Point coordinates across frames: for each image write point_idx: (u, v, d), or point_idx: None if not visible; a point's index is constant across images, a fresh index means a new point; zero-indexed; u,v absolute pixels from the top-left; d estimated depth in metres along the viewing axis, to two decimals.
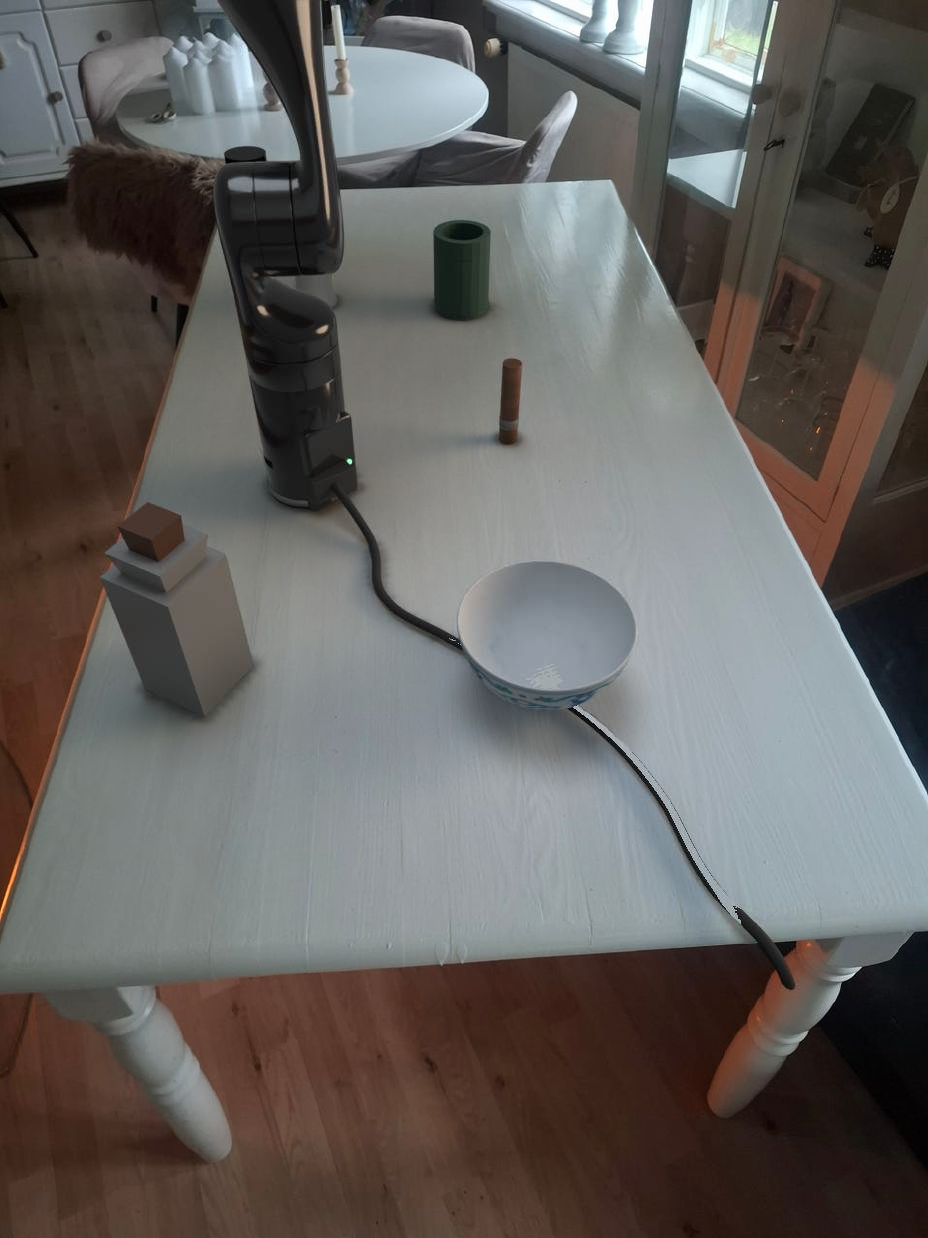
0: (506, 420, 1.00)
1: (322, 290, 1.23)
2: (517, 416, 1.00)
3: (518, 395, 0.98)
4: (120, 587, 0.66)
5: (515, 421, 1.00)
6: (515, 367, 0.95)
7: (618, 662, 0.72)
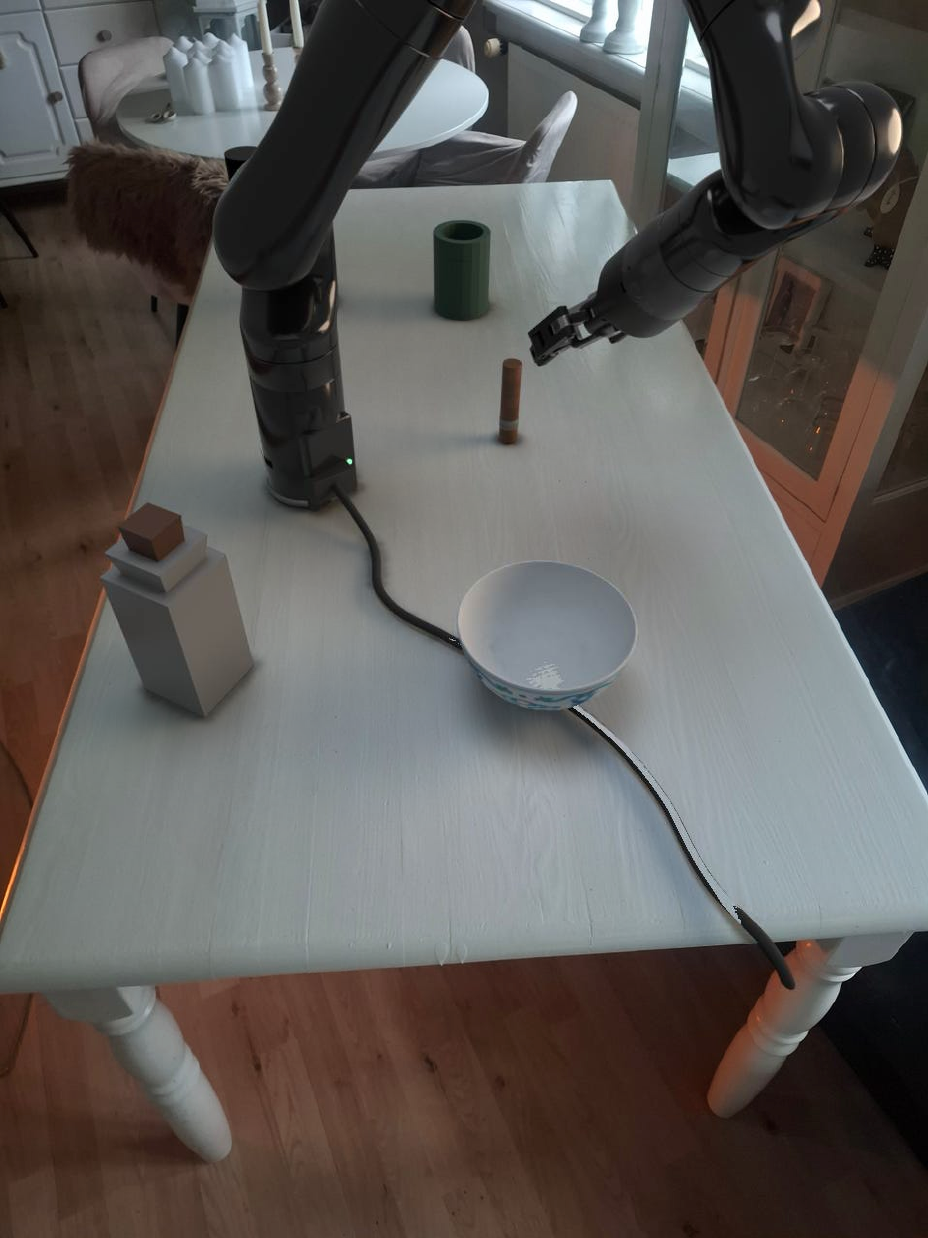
0: (506, 420, 1.00)
1: None
2: (517, 416, 1.00)
3: (518, 395, 0.98)
4: (120, 587, 0.66)
5: (515, 421, 1.00)
6: (515, 367, 0.95)
7: (618, 662, 0.72)
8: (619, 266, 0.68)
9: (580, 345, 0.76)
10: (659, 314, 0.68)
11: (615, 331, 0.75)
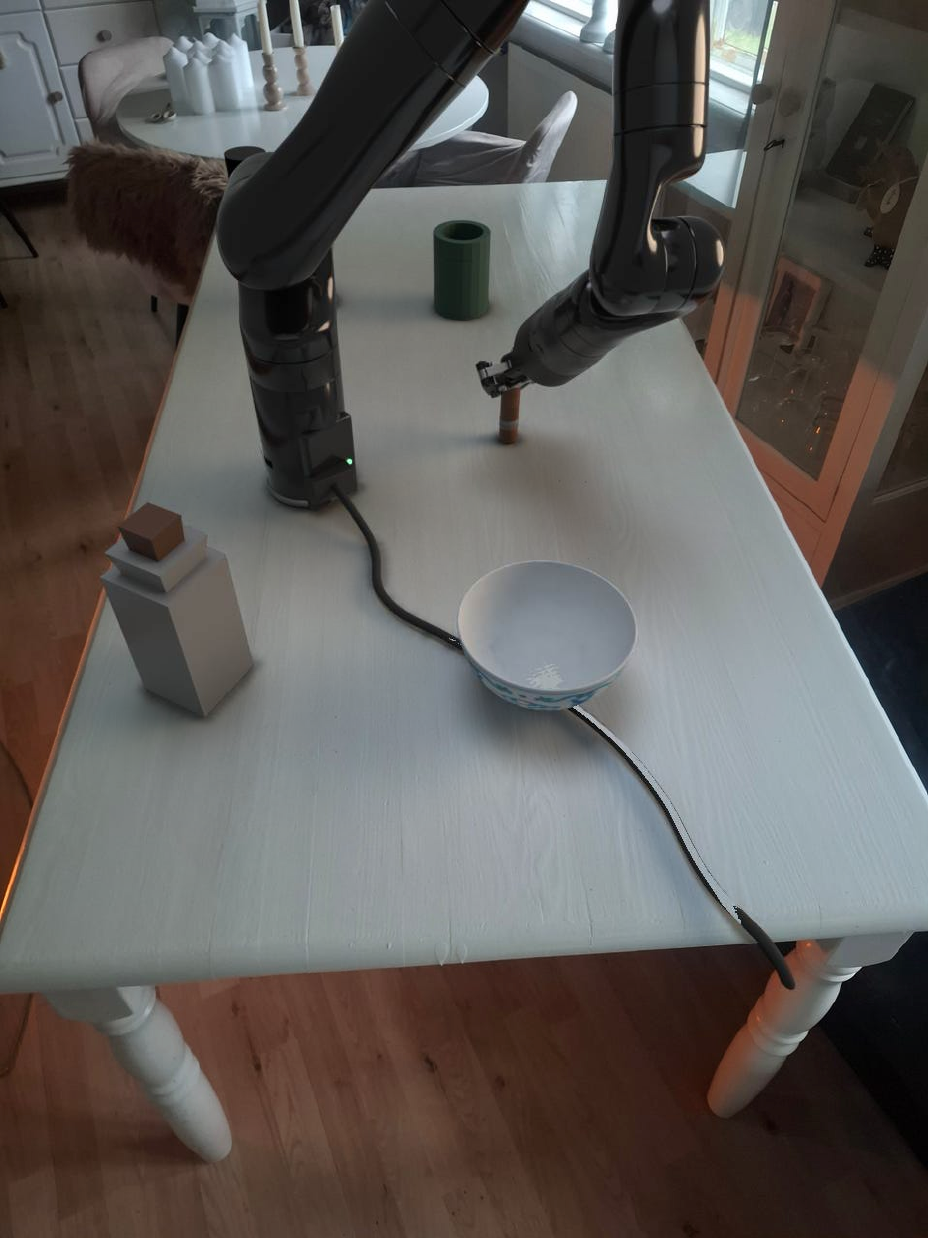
0: (506, 420, 1.00)
1: None
2: (517, 416, 1.00)
3: (518, 395, 0.98)
4: (120, 587, 0.66)
5: (515, 421, 1.00)
6: None
7: (618, 662, 0.72)
8: (528, 330, 0.83)
9: (512, 387, 0.93)
10: (558, 371, 0.83)
11: (528, 380, 0.90)
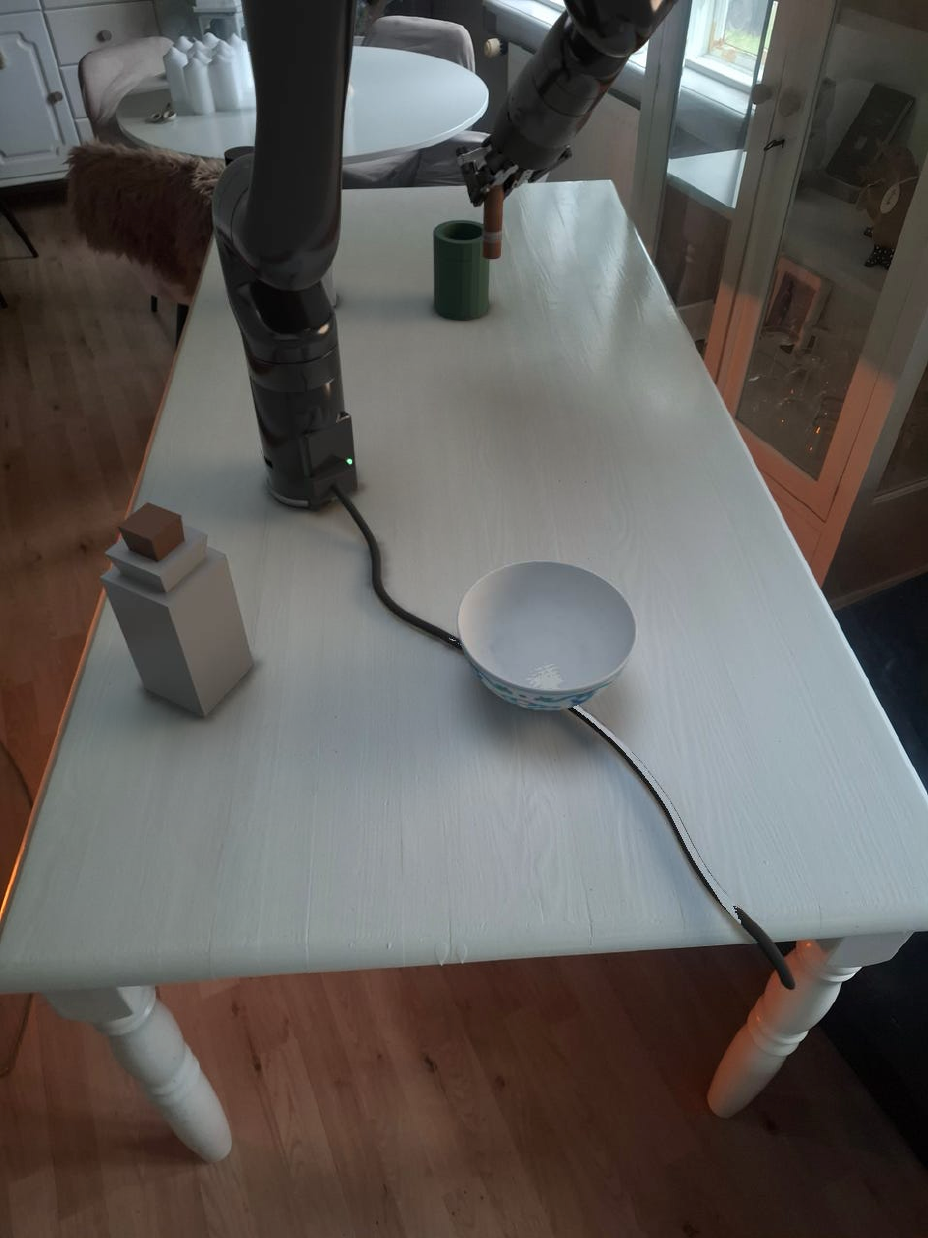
0: (489, 231, 0.98)
1: None
2: (500, 227, 0.98)
3: (501, 201, 0.96)
4: (120, 587, 0.66)
5: (498, 232, 0.98)
6: None
7: (618, 662, 0.72)
8: (507, 99, 0.81)
9: (493, 182, 0.91)
10: (537, 141, 0.81)
11: (509, 168, 0.88)
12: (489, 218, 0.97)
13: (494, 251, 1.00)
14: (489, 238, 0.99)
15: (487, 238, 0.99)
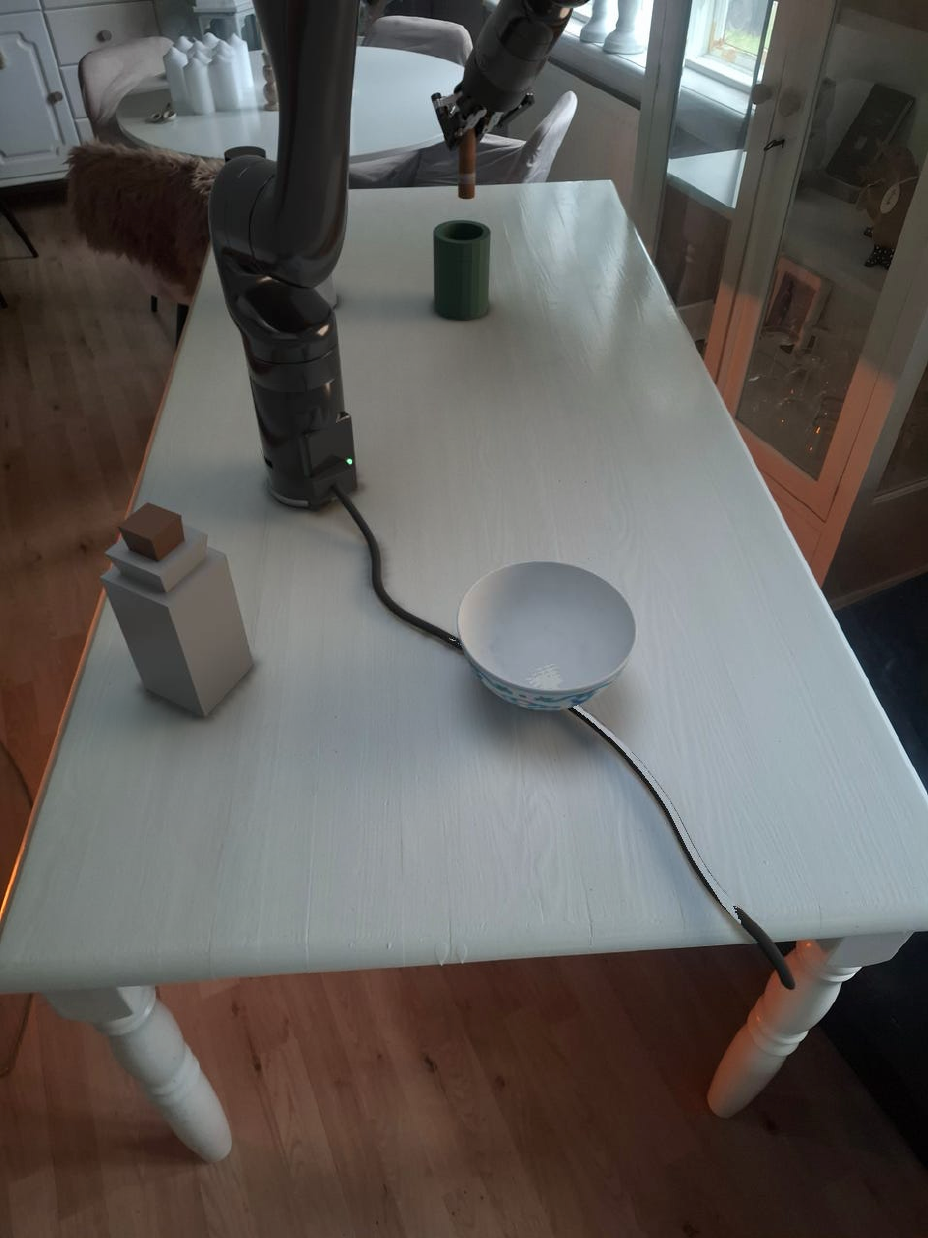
0: (463, 173, 1.10)
1: (322, 290, 1.23)
2: (473, 169, 1.11)
3: (473, 145, 1.08)
4: (120, 587, 0.66)
5: (472, 174, 1.11)
6: None
7: (618, 662, 0.72)
8: (474, 48, 0.94)
9: (465, 126, 1.03)
10: (501, 84, 0.93)
11: (478, 111, 1.00)
12: (463, 161, 1.09)
13: (468, 191, 1.12)
14: (463, 179, 1.11)
15: (462, 179, 1.11)
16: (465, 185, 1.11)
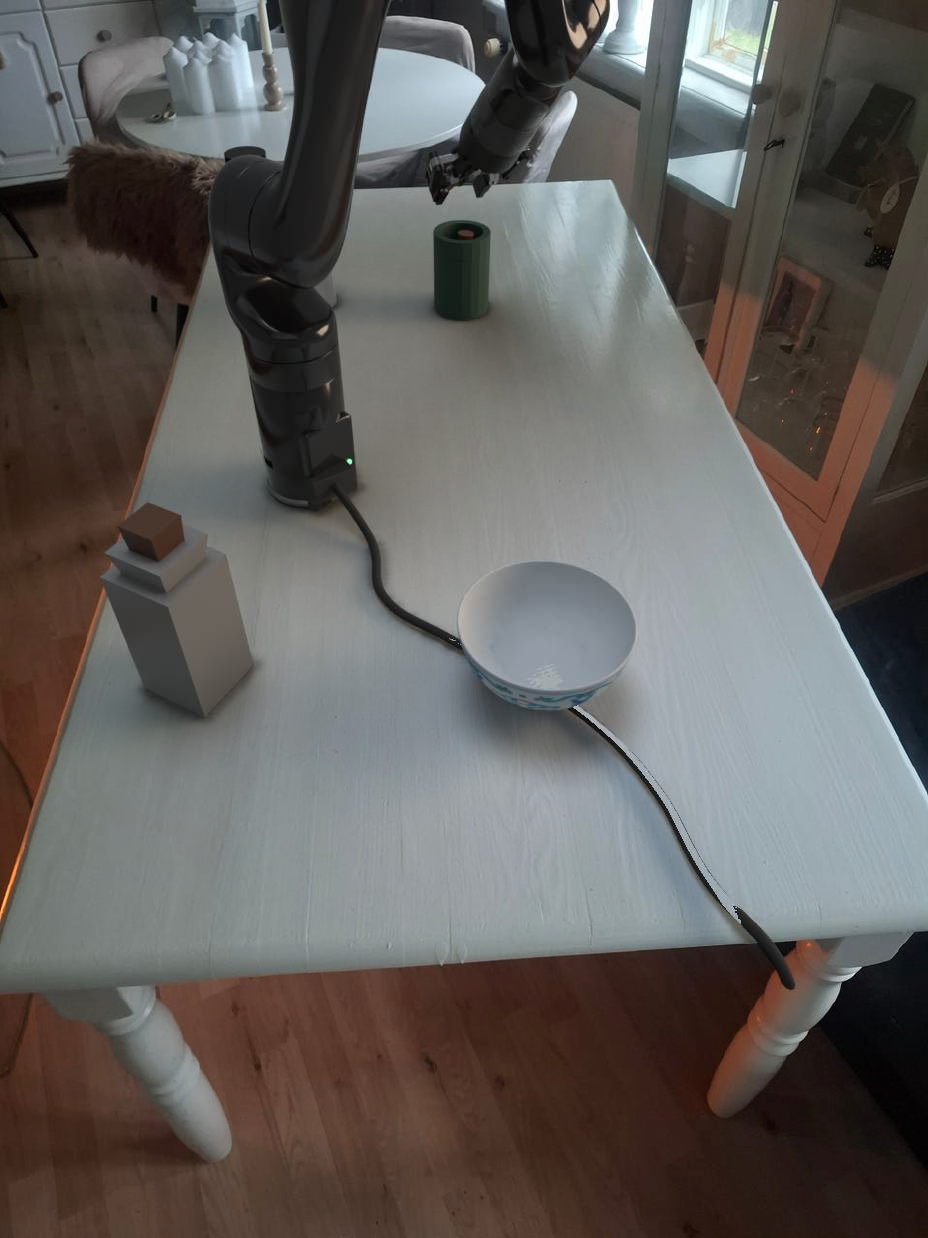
0: None
1: (322, 290, 1.23)
2: None
3: None
4: (120, 587, 0.66)
5: None
6: (467, 235, 1.18)
7: (618, 662, 0.72)
8: (469, 116, 1.00)
9: (456, 183, 1.09)
10: (494, 150, 0.99)
11: (474, 171, 1.06)
12: None
13: None
14: None
15: None
16: None
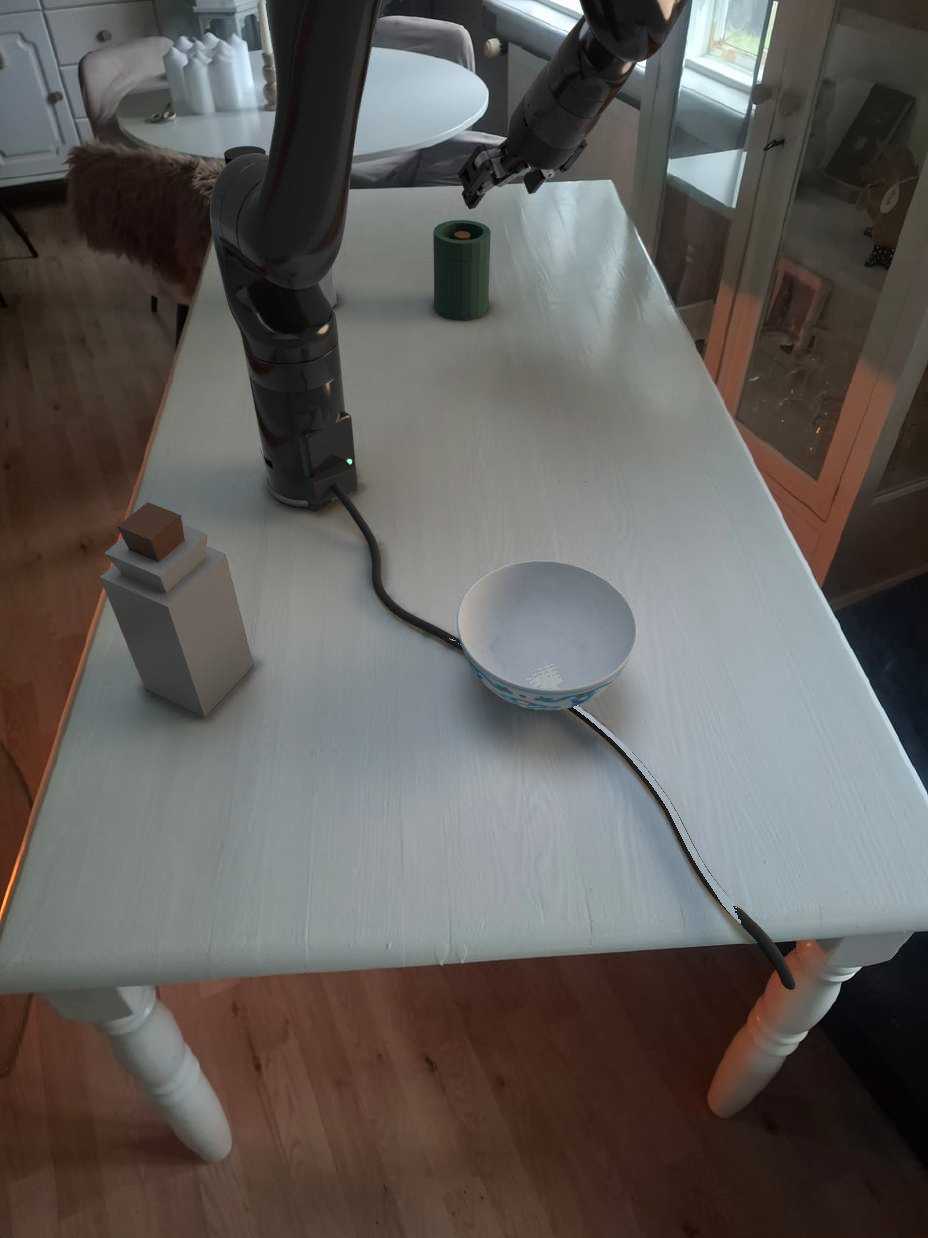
0: None
1: (322, 290, 1.23)
2: None
3: None
4: (120, 587, 0.66)
5: None
6: (464, 237, 1.18)
7: (618, 662, 0.72)
8: (522, 106, 0.88)
9: (499, 182, 0.97)
10: (553, 142, 0.88)
11: (525, 168, 0.95)
12: None
13: None
14: None
15: None
16: None
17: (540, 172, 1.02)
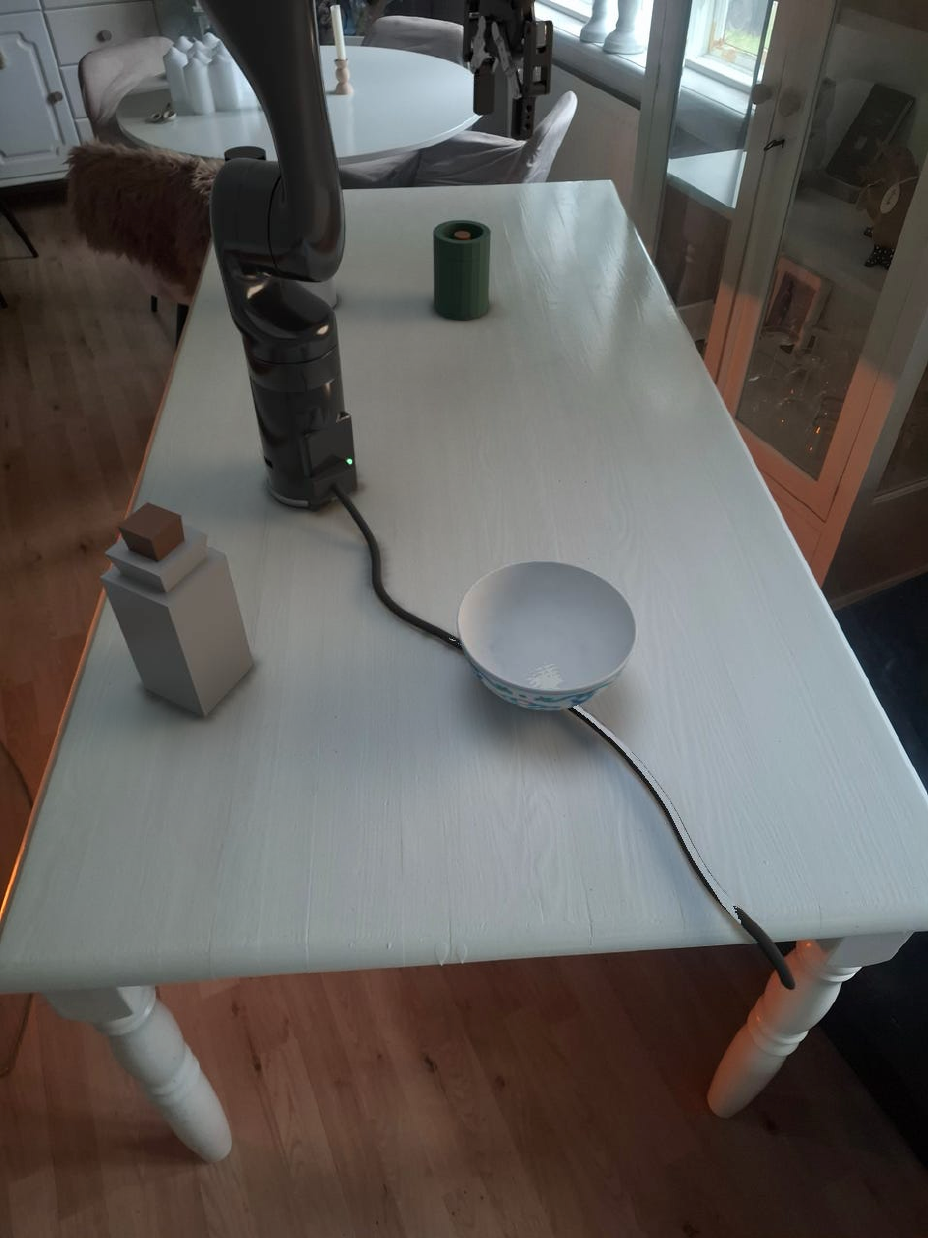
0: None
1: (322, 290, 1.23)
2: None
3: None
4: (120, 587, 0.66)
5: None
6: (464, 237, 1.18)
7: (618, 662, 0.72)
8: None
9: None
10: None
11: None
12: None
13: None
14: None
15: None
16: None
17: (488, 74, 0.90)
